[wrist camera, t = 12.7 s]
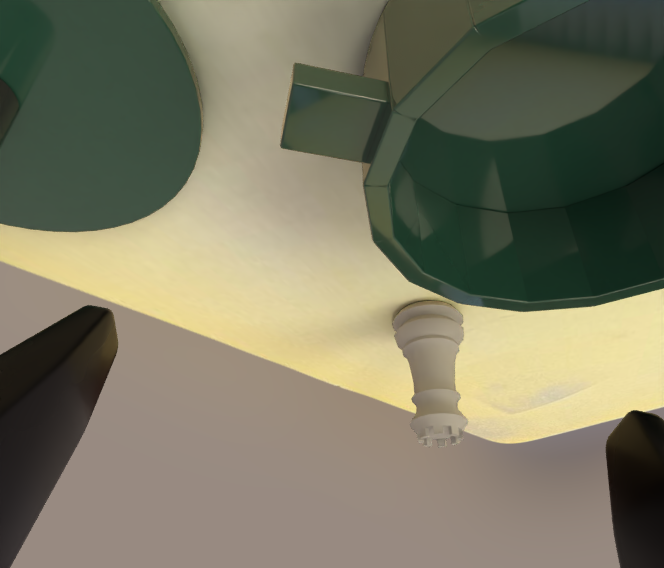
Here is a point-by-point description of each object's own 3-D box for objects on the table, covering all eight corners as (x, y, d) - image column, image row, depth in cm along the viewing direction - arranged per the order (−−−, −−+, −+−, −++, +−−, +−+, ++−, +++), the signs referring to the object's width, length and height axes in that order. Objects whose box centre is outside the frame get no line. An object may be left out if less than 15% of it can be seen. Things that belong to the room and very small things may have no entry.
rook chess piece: (422, 339, 37) (434, 457, 32) (377, 317, 34) (383, 441, 30) (476, 314, 34) (498, 439, 29) (431, 289, 31) (447, 420, 27)
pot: (651, 240, 28) (690, 334, 25) (266, 177, 24) (256, 277, 21) (1000, -59, 16) (1160, 49, 13) (345, -275, 12) (348, -197, 9)
